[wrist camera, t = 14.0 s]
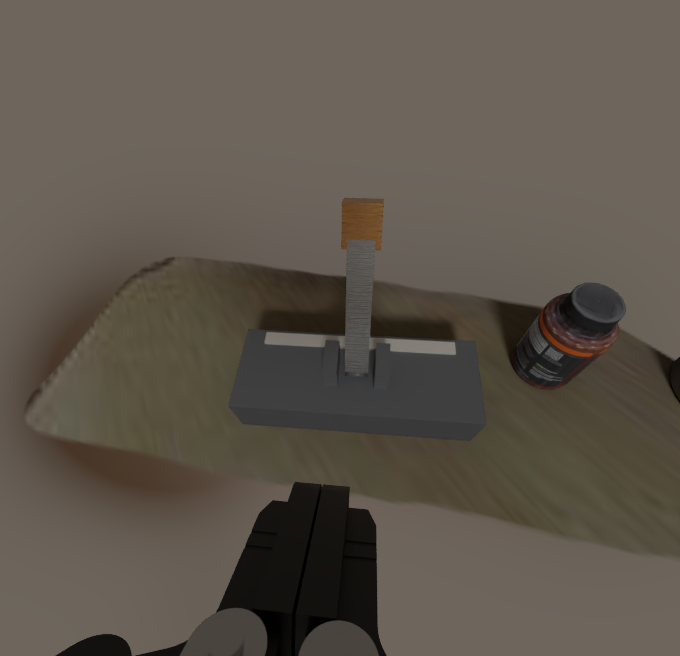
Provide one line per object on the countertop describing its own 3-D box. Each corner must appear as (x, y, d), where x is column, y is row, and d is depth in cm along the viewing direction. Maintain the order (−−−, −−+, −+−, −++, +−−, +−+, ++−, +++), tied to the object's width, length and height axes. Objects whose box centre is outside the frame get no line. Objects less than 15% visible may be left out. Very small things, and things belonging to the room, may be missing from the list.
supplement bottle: (566, 346, 39) (635, 278, 29) (571, 397, 36) (650, 340, 26) (509, 336, 40) (557, 267, 30) (509, 385, 37) (563, 325, 27)
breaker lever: (372, 370, 33) (383, 198, 26) (371, 382, 31) (383, 203, 24) (341, 368, 33) (344, 198, 26) (339, 380, 31) (341, 202, 24)
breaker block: (462, 364, 38) (484, 324, 32) (470, 440, 34) (498, 412, 27) (259, 353, 40) (240, 311, 33) (243, 423, 36) (217, 393, 29)
